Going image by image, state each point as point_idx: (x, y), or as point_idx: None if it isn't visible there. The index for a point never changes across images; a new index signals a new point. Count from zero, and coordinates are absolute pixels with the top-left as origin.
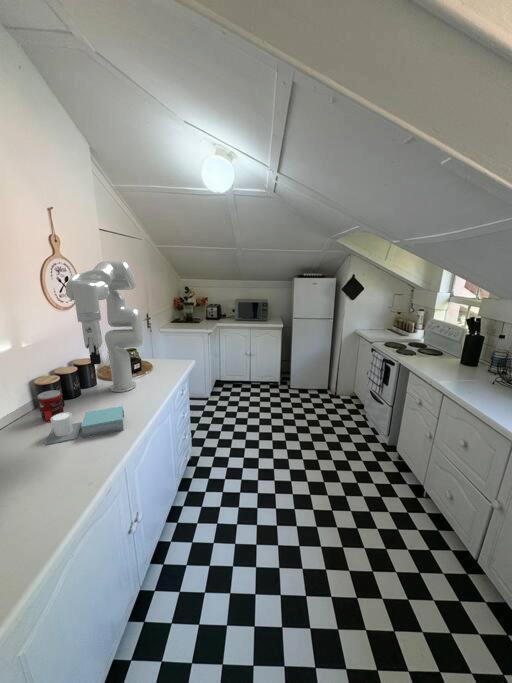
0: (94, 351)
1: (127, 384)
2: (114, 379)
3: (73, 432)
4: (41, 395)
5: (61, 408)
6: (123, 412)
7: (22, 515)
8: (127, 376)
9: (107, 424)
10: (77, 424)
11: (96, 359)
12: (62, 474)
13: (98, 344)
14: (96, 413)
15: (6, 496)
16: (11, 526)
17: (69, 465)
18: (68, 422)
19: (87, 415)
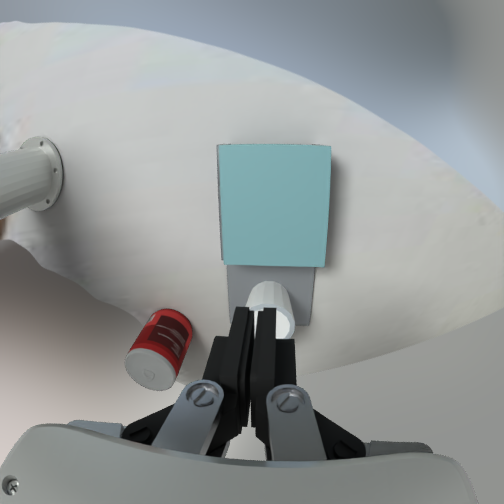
0: (389, 447)
1: (40, 158)
2: (27, 201)
3: (280, 277)
4: (152, 383)
5: (167, 323)
6: (227, 144)
7: (482, 303)
8: (20, 160)
9: None
10: (237, 273)
11: (293, 361)
12: (435, 272)
13: (475, 495)
14: (248, 231)
15: (434, 336)
16: (490, 309)
17: (415, 265)
18: (284, 301)
19: (252, 257)
